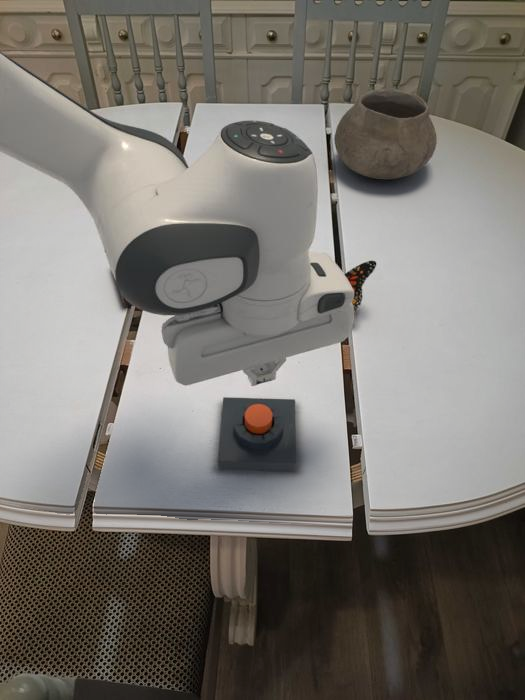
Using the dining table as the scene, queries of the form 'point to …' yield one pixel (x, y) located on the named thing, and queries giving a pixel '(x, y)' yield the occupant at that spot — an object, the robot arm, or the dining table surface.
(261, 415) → the orange button
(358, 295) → the butterfly
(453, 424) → the dining table surface
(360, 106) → the clay pot
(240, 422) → the button box
